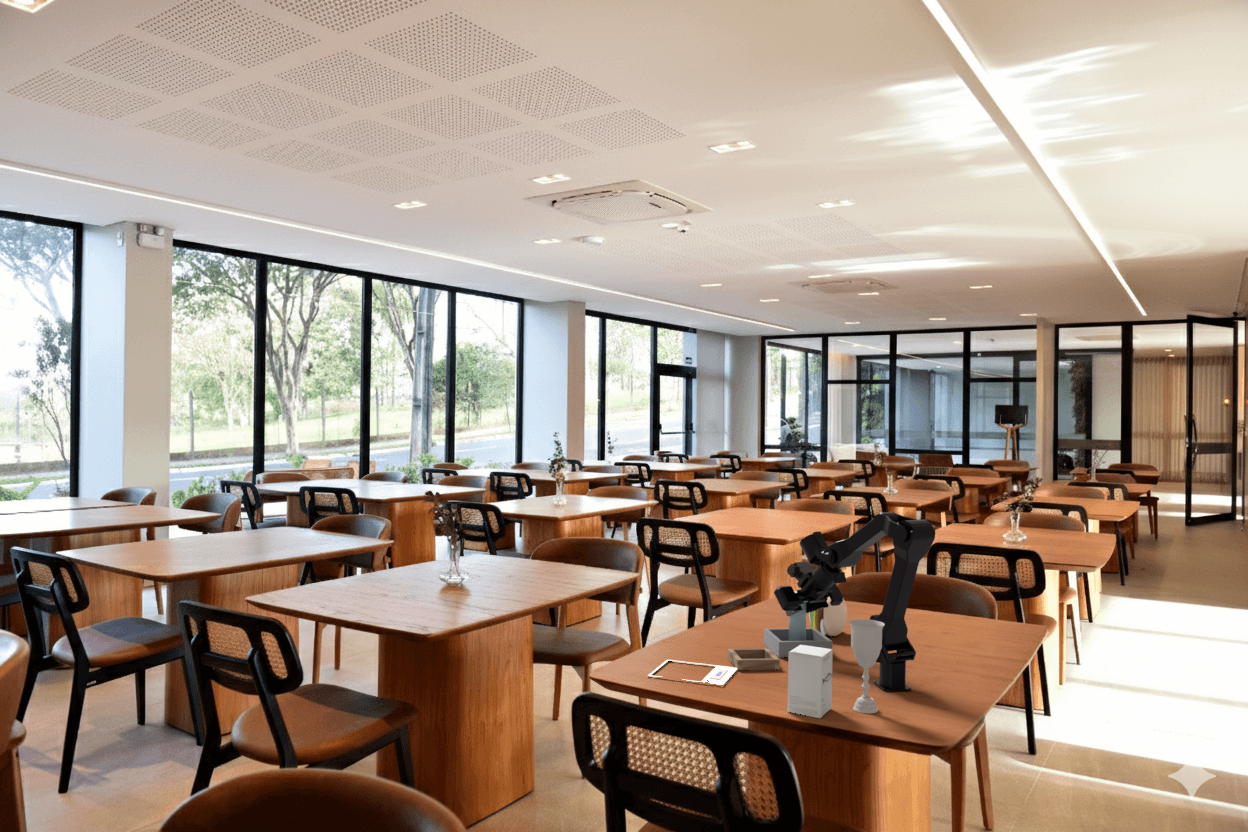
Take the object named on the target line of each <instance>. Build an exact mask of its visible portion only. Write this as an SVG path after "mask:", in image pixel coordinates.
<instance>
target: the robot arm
mask: <svg viewBox="0 0 1248 832" xmlns="http://www.w3.org/2000/svg"><path fill="white" fill-rule="evenodd" d="M886 536H887V537H889V538H891V539H892V544H893V548H894V551H895V555H896V556H895V559H894V563H893V567H892V571H891V575H890V580H889V583H888V587H887V591H886V595H885V598H884V599H885V600H884V603H883V606H882V610H881V612H880V613H879V614H873V615H870V617H869V620H875V621H880V622H883V623H884V624H885V625H884V627H883V629H882V648H881V651H880V654H879V656H878V658H877V660H876V662H875V663H879V674H878V675H879V680H873V684H874V685H876V686H877V687H878V688H879V689H881V690H882V691H884V692H906V691H907V692H908V691H910V692H911V691H912V690H913V689H912V687H911V686H909V685H908V684H907V683H906V680H907V678H906V677H907V676H906V675H907V661H914V660H915V658H916V654H917V651H916V650H915V648H914V646H913V645H912V643H911V641H910V640H909V638H908V632H909V630H908V629H909V628H908V626H907V623H906V620H905V616H906V613H907V609H908V605H909V601H910V597H911V593H912V590H913V586H914V582H915V578H916V577H917V576H916V575H917V572H918V569H919V568H918V567H919V565H920V564H919V563H920V561H921V560H922V559H923V558H924V556H926V555H927V553H929V551H930V550H931V547H932V545H933V543H934V541H935V538H936V530H935V529H934V526H933V524H932V523H931V522H930V521H929V520H927V519H917V518H913V517H910V516H905V515H903V514H902V515H901V514H898V513H897V512H894V511H888V512H887V511H885V512H879V513H877V514H875V516H874V518H872V519H871V520H870V521H868V522H867V523H866V524H864V525H863V526H862V527H860V528H858V530H857V531H855V532H854V533H853V534H852V535H850V536H848V537H847V538H845V539H841V540H839V541H838V540H837V541H834V542H833V543H830V544H829V545H828V544H827V542H826V541H827V540H825V538H824V536H823V533H822V532H821V531H813V532H812V534H809V535H807V536H805V537H803V538H802V539H801V540H800V542H799V546H800V548H801V550H802V551H803V554H804V555H805V556H806V559H807V561H808V562H807V561H797V562H793V563H791V564H789V565H788V567H787V569H786V572H787V575H789V577H791V578H792V579H793V578H794V579H796V580H797V581H798V582H797V583H796V585H797V586H798V588H799V589H797V590H796V591H797V593H795V592H794V591H795V590H794V589H793V586H792V585H780V586H777V587H776V588H775V589H774V591H773V594H774V596H775V598H776V599H777V602H778V604H779V605H780V608H781V609H782V610H783V611H784V612H785V615H786V617H789V616H791V615H793V614H795V613H797V612H799V611H801V610H803V609H802V607H801V605H802V604H803V602H806V615H807V614H809V613H810V612H813V611H816V610H819V609H823V608H827V607H828V606H829V605H828V603H827V599H828V596H829V597H830V599H831V602H830V604H831V606H836V605H840V604H841V603H842V601H843V599H844V596H843V594H842V592H841V590H840V589H839V586H838V585H837V584H846V583H847V577H846V572H844V570H843V568H851V567H855V566H856V565H857V564H858V563H859V562H860V561H861V559H862V557H863V553H864V552H865V551H866V550H868V549H869V548H870V547H872V546H873V545H875V544H876V543H878V541H880V540H881V539H882V538H884V537H886ZM812 565H816V568H814V567H813V566H812ZM893 651H894V652H893ZM889 652H890V653H889Z"/></svg>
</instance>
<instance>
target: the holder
mask: <svg viewBox="0 0 1248 832" xmlns="http://www.w3.org/2000/svg"><path fill="white" fill-rule="evenodd" d="M726 650H727V654H726V655H727V658H728V659H729V660H730V661H731V662H732V664H733V665H734V666H735V667H736V668H737V669H738V670H749V671H780V670H781V667H780V665H781V660H780V659H781V658H778V657H777V656H776V655H775V654H774V653H773V652H772V651H771V650H770V649H769V648H768V647H753V648H752V647H751V648H749V647H746V648H742V647H741V648H740V647H739V648H727V649H726ZM728 659H727V660H728ZM729 660H728V661H729ZM730 661H729V662H730ZM731 662H730V663H731ZM732 664H731V665H732ZM733 665H732V666H733ZM734 666H733V667H734ZM774 669H775V670H774ZM776 669H778V670H776Z"/></svg>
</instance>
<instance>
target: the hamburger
mask: <svg viewBox="0 0 1248 832" xmlns="http://www.w3.org/2000/svg"><path fill="white" fill-rule="evenodd" d="M830 602H831V599H830V597H829V596H828V599H827V603H828V605H829V606H828V607H827V608H823V609H819V610H816V611H813V612H810V613H808V617H809V623H810V628H815V629H816V630H818V631H819V632H821V633H822V634H823V635H825V636H829V637H832V636H834V637H837V636H838V635H840V634H841V632H842V633H843V631H844V629H845V627H846V624H847V619H848V607H847V604H846V601H845V599H844V598H843V601H842V603H841V604H840V605H836V606H831V604H830Z"/></svg>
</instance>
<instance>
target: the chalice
mask: <svg viewBox="0 0 1248 832" xmlns="http://www.w3.org/2000/svg"><path fill="white" fill-rule="evenodd" d="M848 624H849V626H850V632H851V633H850V646H851V649H852V653H853V655H854V658H855V659H856V661H857V664H858V666H859V667H861V668H863V673H862V676H861V678H862V680H863V682H862V684H861V687H862V690H863V691H862V692H863V693H862V695H861V696H858V697H857V698H856V701H855V702H854V706H853V707H852V709H853V711H856V712H858V713H862V714H876V713H878V712H879V709H878V707H877V704H876V703H875V700H874V698H873V697H871V696H870V695H869V689H870V688H871V685H870V684H869V680H870V678H871V677H870V675H869V669H871V668H873V667H874V666H875V664H876V663H877V662H876V660H877V658H878V656H879V654H880V651H881V648H882V629H883V627H884V625H885V624H884V623H883V622H880V621H875V620H870V619H867V618H866V619H865V618H864V619H862V618H861V619H860V618H858V619H852V620H851V619H850V620H849V621H848Z"/></svg>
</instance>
